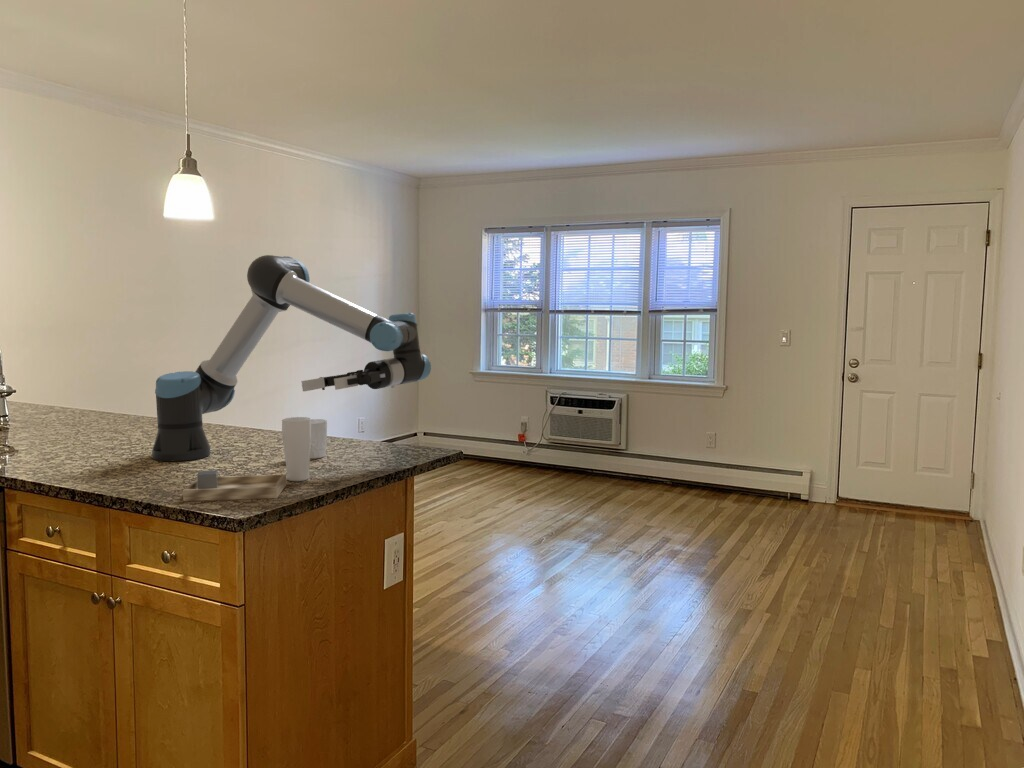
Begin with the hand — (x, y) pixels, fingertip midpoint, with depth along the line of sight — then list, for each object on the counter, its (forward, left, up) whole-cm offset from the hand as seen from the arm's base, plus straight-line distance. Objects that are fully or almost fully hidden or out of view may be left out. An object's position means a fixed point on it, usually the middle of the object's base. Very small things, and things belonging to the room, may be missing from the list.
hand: (318, 385), depth 201 cm
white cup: (-5, +21, -23) cm, 32 cm away
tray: (-17, -19, -22) cm, 34 cm away
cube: (-23, -19, -22) cm, 37 cm away
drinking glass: (-5, -8, -23) cm, 24 cm away
